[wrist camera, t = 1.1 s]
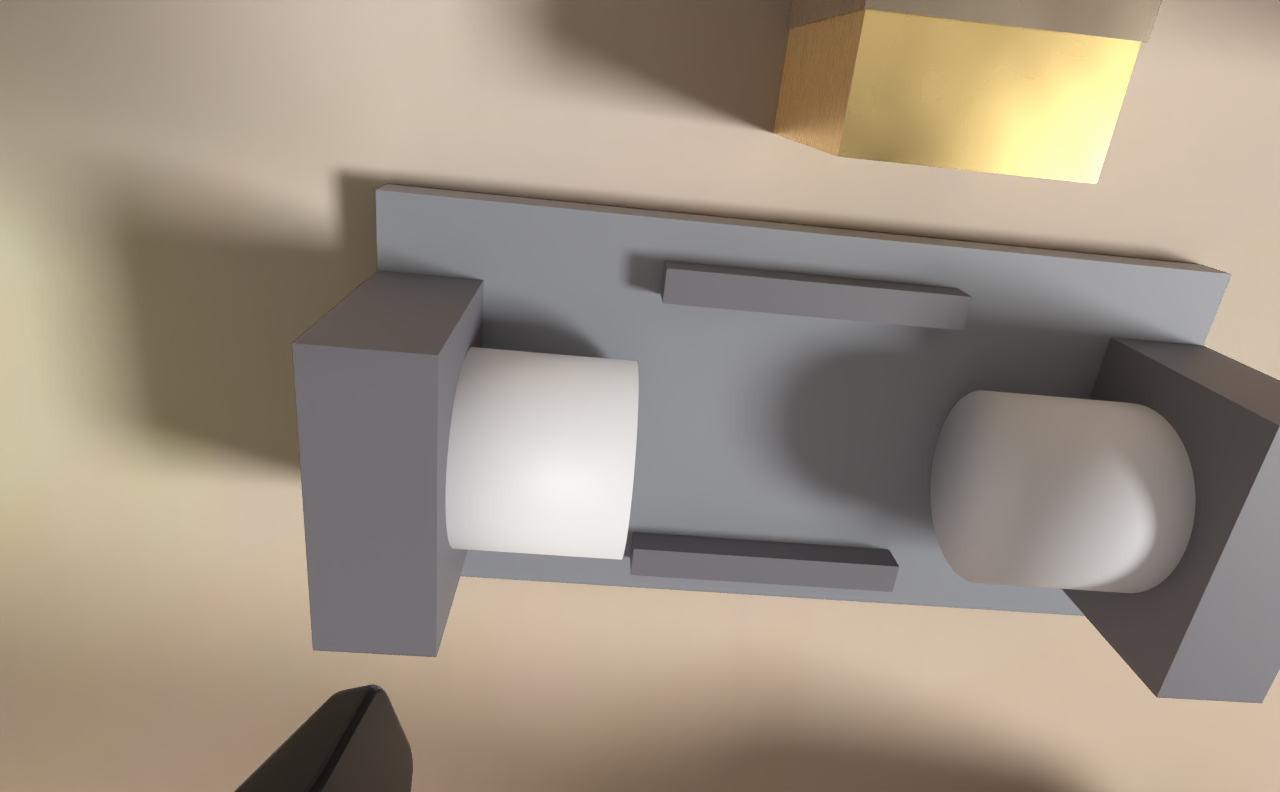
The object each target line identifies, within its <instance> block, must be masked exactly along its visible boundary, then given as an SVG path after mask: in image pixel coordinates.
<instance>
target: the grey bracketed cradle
mask: <svg viewBox="0 0 1280 792" xmlns="http://www.w3.org/2000/svg"><path fill="white" fill-rule="evenodd" d="M376 230H377V271H376V272H375V273H374V274H373V275H372V276H370V277H369V278H368V279H367V280H366V281H364V282H363V283H362V284H361V285H360V286H359V287H357V288H356V289H355V290H354V291H353V292H352V293H350V294H349V295H348V296H347V297H346V298H344V299H343V300H342V301H341V302H340V303H339V304H337V305H336V306H335V307H334V308H333V309H332V310H330V311H329V312H328V313H327V314H326V315H324V316H323V317H322V318H321V319H320V320H319V321H317V322H316V323H315V324H314V325H313V326H312V327H310V328H309V329H308V330H307V331H306V332H304V333H303V334H302V335H301V336H300V337H299V338H297V339H296V340H295V341H294V342H293V343H292V351H293V366H294V380H295V395H296V410H297V424H298V439H299V454H300V468H301V483H302V497H303V512H304V527H305V541H306V556H307V570H308V585H309V600H310V614H311V629H312V643H313V650H318V651H336V652H353V653H371V654H389V655H407V656H425V657H436V656H437V653H438V650H439V646H440V643H441V639H442V636H443V633H444V629H445V626H446V622H447V619H448V616H449V612H450V609H451V606H452V602H453V599H454V595H455V592H456V589H457V585H458V582H459V578H460V576H466V577H481V578H497V579H513V580H529V581H544V582H560V583H576V584H592V585H607V586H623V587H639V588H655V589H670V590H686V591H702V592H718V593H733V594H749V595H765V596H781V597H796V598H812V599H828V600H844V601H859V602H875V603H891V604H907V605H922V606H938V607H954V608H970V609H985V610H1001V611H1017V612H1033V613H1048V614H1064V615H1080V616H1086V617H1087V619H1088V620H1089V621H1090V622H1091V623H1092V624H1093V625H1094V627H1095V628H1096V629H1097V630H1098V631H1099V632H1100V633H1101V635H1102V636H1103V637H1104V638H1105V639H1106V640H1107V641H1108V643H1109V644H1110V645H1111V646H1112V647H1113V648H1114V649H1115V651H1116V652H1117V653H1118V654H1119V655H1120V656H1121V657H1122V658H1123V660H1124V661H1125V662H1126V663H1127V664H1128V665H1129V666H1130V668H1131V669H1132V670H1133V671H1134V672H1135V673H1136V674H1137V676H1138V677H1139V678H1140V679H1141V680H1142V681H1143V682H1144V684H1145V685H1146V686H1147V687H1148V688H1149V689H1150V690H1151V691H1152V693H1153V694H1154V695H1155V696H1156V697H1159V698H1177V699H1195V700H1213V701H1230V702H1248V703H1262V702H1263V700H1264V698H1265V696H1266V694H1267V692H1268V690H1269V688H1270V686H1271V684H1272V683H1273V681H1274V679H1275V677H1276V675H1277V673H1278V671H1279V669H1280V381H1279V380H1277V379H1275V378H1273V377H1270V376H1268V375H1266V374H1264V373H1262V372H1260V371H1257V370H1255V369H1253V368H1251V367H1249V366H1246V365H1244V364H1242V363H1240V362H1238V361H1235V360H1233V359H1231V358H1229V357H1227V356H1225V355H1222V354H1220V353H1218V352H1216V351H1214V350H1211V349H1209V348H1207V347H1205V346H1203V345H1204V343H1205V340H1206V338H1207V335H1208V332H1209V330H1210V327H1211V325H1212V322H1213V320H1214V317H1215V315H1216V312H1217V310H1218V307H1219V305H1220V302H1221V300H1222V297H1223V295H1224V292H1225V290H1226V287H1227V284H1228V282H1229V279H1230V277H1231V274H1229V273H1226V272H1223V271H1220V270H1217V269H1214V268H1210V267H1207V266H1204V265H1199V264H1189V263H1179V262H1169V261H1159V260H1149V259H1139V258H1129V257H1119V256H1108V255H1098V254H1088V253H1078V252H1068V251H1058V250H1048V249H1038V248H1028V247H1018V246H1008V245H998V244H988V243H977V242H967V241H957V240H947V239H937V238H927V237H917V236H907V235H897V234H887V233H877V232H867V231H857V230H846V229H836V228H826V227H816V226H806V225H796V224H786V223H776V222H766V221H756V220H746V219H736V218H726V217H715V216H705V215H695V214H685V213H675V212H665V211H655V210H645V209H635V208H625V207H615V206H605V205H595V204H585V203H574V202H564V201H554V200H544V199H534V198H524V197H514V196H504V195H494V194H484V193H474V192H464V191H454V190H443V189H433V188H423V187H413V186H403V185H393V184H386V185H384V186H382V187H380V188H378V189H376Z"/></svg>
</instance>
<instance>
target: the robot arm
mask: <svg viewBox="0 0 1280 792" xmlns="http://www.w3.org/2000/svg"><path fill="white" fill-rule="evenodd" d="M412 773H413V760H412V753H411V749H410V745H409V743H408V740H407V738H406V736H405V733H404V731H403V729H402V727H401V724H400V722H399V720H398V718H397V716H396V713H395V711H394V709H393V707H392V704H391V702H390V700H389V698H388V696H387V694H386V692H385V691H384V690H383V689H382V688H381V687H380V686H377V685H367V686H362V687H357V688H352V689H347V690H343V691H340V692H337V693H335V694H334V695H333V696H331V697H330V698H329V699H328V700H327V701H326V702H325V703H324V704H323V705H322V706H321V707H320V708H319V709H318V710H317V711H316V712H315V713H314V714H313V715H312V716H311V717H310V718H309V719H308V720H307V721H306V722H305V723H304V724H303V725H302V726H301V727H300V728H299V729H298V730H296V731H295V732H294V733H293V734H292V735H291V736H290V737H289V738H288V739H287V740H286V741H285V742H284V743H283V744H282V745H281V746H280V747H279V748H278V749H277V750H276V751H275V752H274V753H273V754H272V755H271V756H270V757H269V758H268V759H267V760H266V761H265V762H264V763H263V764H262V765H261V766H260V767H259V768H258V769H257V770H256V771H255V772H254V773H253V774H252V775H251V776H250V777H249V778H248V779H247V780H246V781H245V782H244V783H243V784H241V785H240V786H239V787H238V788H237V789H236V790H235V791H234V792H411V783H412Z"/></svg>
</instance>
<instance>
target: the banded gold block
mask: <svg viewBox="0 0 1280 792" xmlns="http://www.w3.org/2000/svg"><path fill="white" fill-rule="evenodd" d="M1161 1H1162V0H792V4H791V10H790V16H789V22H788V28H790V30H789V37H788V43H787V49H786V56H785V62H784V68H783V74H782V81H781V87H780V93H779V99H778V106H777V112H776V118H775V125H774V131H773V133H774V134H777V135H780V136H782V137H785V138H788V139H791V140H793V141H796V142H799V143H802V144H805V145H807V146H810V147H813V148H816V149H818V150H821V151H824V152H827V153H830V154H832V155H835V156H839V157H848V158H858V159H867V160H877V161H886V162H895V163H905V164H914V165H924V166H933V167H942V168H952V169H961V170H971V171H980V172H990V173H999V174H1008V175H1018V176H1027V177H1037V178H1046V179H1055V180H1065V181H1074V182H1084V183H1093V184H1097V181H1098V178H1099V175H1100V172H1101V168H1102V165H1103V162H1104V159H1105V156H1106V152H1107V149H1108V146H1109V143H1110V140H1111V137H1112V133H1113V130H1114V127H1115V124H1116V121H1117V118H1118V114H1119V111H1120V108H1121V105H1122V102H1123V99H1124V95H1125V92H1126V89H1127V86H1128V83H1129V80H1130V76H1131V73H1132V70H1133V67H1134V64H1135V60H1136V57H1137V54H1138V51H1139V48H1140V45H1141V43H1146V42H1149V38H1150V35H1151V32H1152V29H1153V26H1154V23H1155V20H1156V16H1157V13H1158V10H1159V7H1160V4H1161Z"/></svg>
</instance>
